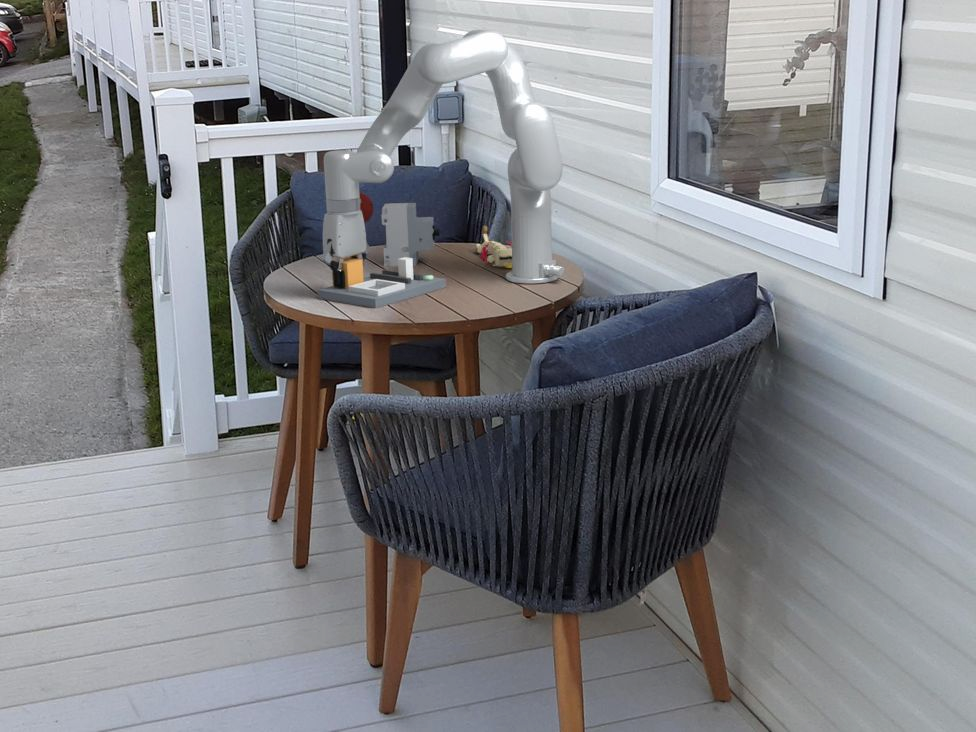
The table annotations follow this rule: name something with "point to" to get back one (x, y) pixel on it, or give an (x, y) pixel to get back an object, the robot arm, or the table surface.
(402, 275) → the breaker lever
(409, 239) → the circuit breaker
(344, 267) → the lockout cap
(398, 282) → the panel
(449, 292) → the table surface
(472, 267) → the table surface
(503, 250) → the cat figure
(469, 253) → the table surface
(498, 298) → the table surface
